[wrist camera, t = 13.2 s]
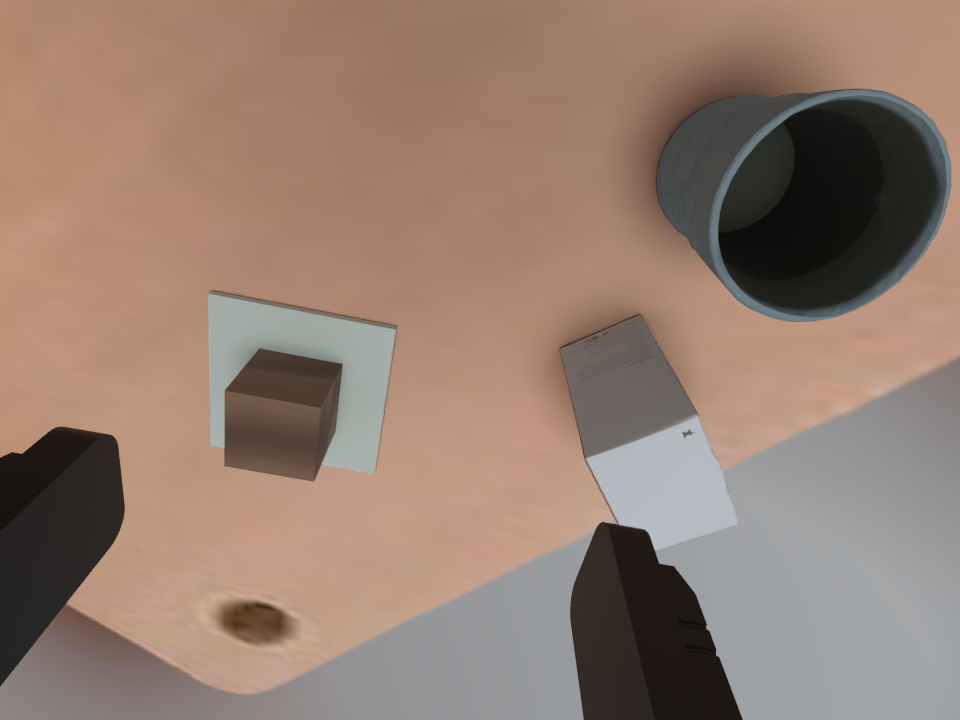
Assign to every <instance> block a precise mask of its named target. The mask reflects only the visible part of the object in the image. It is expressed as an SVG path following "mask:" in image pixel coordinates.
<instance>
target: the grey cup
mask: <svg viewBox="0 0 960 720" xmlns="http://www.w3.org/2000/svg"><path fill="white" fill-rule="evenodd" d="M950 190H951V162H950V158H949V154H948V150H947V146H946V142H945V140H944V138H943V136H942V135H941V133H940V132H939V130H938V128H937V127H936V125H935V123H934V122H933V120H931V119H930V118H929V117H928V116H927V115H926V114H925V113H924V112H923V111H922V110H921V109H919V108H918V107H916V106H915V105H913V104H911V103H909V102H907V101H905V100H903V99H901V98H899V97H897V96H895V95H893V94H891V93H887V92H883V91H877V90H871V89H843V90H833V91H823V92H817V93H809V94H808V93H795V94H790V95H782V96H779V97H774V98H765V97H761V96H756V95H752V96H739V97H729V98H725V99H721V100H718V101H715V102H713V103H711V104H708V105H706V106H705V107H703V108H701V109H700V110H698V111H696V112H695V113H694V114H692V115H691V116H690V117H689V118H687V119H686V120H685V121H684V122H683V123H682V124H681V125H680V126H679V128H677V130H676V131H675V133H674V134H673V135H672V137H671V138H670V140H669V141H668V143H667V145H666V147H665V148H664V150H663V153H662V156H661V159H660V162H659V167H658V173H657V192H658V198H659V202H660V204H661V207H662V210H663V212H664V213H665V215H666V217H667V218H668V220H669V221H670V222H671V224H672V225H673V226H674V227H675V229H676V230H677V231H678V232H680V233H681V234H683V235H684V236H686V237H687V238H688V240H689V242H690V244H691V247H692V248H693V249H694V250H696V252H697V253H698V255H699V256H700V257H701V258H702V260H703V261H704V262H705V263H706V265H707V266H708V267H709V268H710V269H711V271H712V272H713V273H714V274H715V275H716V276H717V277H718V279H719V280H720V281H721V282H722V283H723V285H724V286H725V287H726V288H727V289H728V290H729V291H730V293H731V294H732V295H733V296H734V297H735V298H736V299H737V300H738V301H739V302H741V303H742V304H744V305H745V306H746V307H748V308H750V309H752V310H754V311H756V312H758V313H761V314H763V315H766V316H768V317H772V318H775V319H779V320H783V321H792V322H809V321H817V320H823V319H829V318H834V317H837V316H840V315H843V314H846V313H848V312H851V311H854V310H856V309H858V308H860V307H862V306H864V305H867V304H868V303H870V302H871V301H873V300H875V299H876V298H878V297H879V296H881V295H883V294H884V293H885V292H886V291H888V290H889V289H890V288H892V287H893V286H894V285H895V284H897V283H898V282H899V281H900V280H901V279H902V278H903V277H904V276H905V275H906V274H907V273H908V272H909V271H910V270H911V269H912V268H913V267H914V266H915V265H916V263H917V262H918V261H919V260H920V258H921V257H922V256H923V255H924V253H925V252H926V250H927V249H928V247H929V245H930V244H931V242H932V240H933V239H934V237H935V236H936V234H937V232H938V230H939V227H940V225H941V223H942V220H943V218H944V215H945V211H946V207H947V204H948V200H949V195H950Z"/></svg>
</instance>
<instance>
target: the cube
mask: <svg viewBox="0 0 960 720" xmlns="http://www.w3.org/2000/svg"><path fill="white" fill-rule="evenodd" d="M342 367H343V364H340V363H335V362H329V361H324V360H319V359H313V358H308V357H303V356H298V355H292V354H287V353H282V352H276V351H271V350H266V349H260V348H259V349H258V351H257V352H256V353H255V354H254V355H253V357H252V358H251V359H250V360H249V361H248V363H247V364H246V365H245V366H244V368H243V369H242V370H241V371H240V372H239V374H238V375H237V376H236V377H235V378H234V380H233V381H232V382H231V383H230V385H229V386H228V387H227V388H226V389H225V466H227V467H233V468H239V469H244V470H250V471H256V472H262V473H267V474H273V475H279V476H285V477H291V478H296V479H302V480H308V481H314V480H315V478H316V476H317V473H318V471H319V469H320V466H321V464H322V462H323V459H324V457H325V455H326V452H327V450H328V448H329V445H330V443H331V441H332V439H333V436H334V434H335V432H336V423H337V414H338V404H339V395H340V386H341V376H342Z"/></svg>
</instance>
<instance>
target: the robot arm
mask: <svg viewBox="0 0 960 720" xmlns="http://www.w3.org/2000/svg"><path fill="white" fill-rule="evenodd" d="M124 510H125V505H124V495H123V486H122V477H121V468H120V459H119V449H118V443H117V441H116V439H115V438H114V437H113V436H112V435H108V434H103V433H97V432H91V431H86V430H80V429H74V428H68V427H57V428H54V429H52V430H51V431H49V432H48V433H47V434H46V435H44V436H43V437H42V438H41V439H40V440H38V441H37V442H36V443H35V444H34V445H32V446H31V447H30V448H29V449H28V450H26V451H25V452H24V453H23V454H19V453H13V452H12V453H10V454H7V455H5V456H3V457H1V458H0V686H1V685H2V684H3V682H4V681H5V680H6V679H7V677H8V676H9V675H10V673H11V672H12V671H13V670H14V668H15V667H16V666H17V665H18V663H19V662H20V661H21V660H22V658H23V657H24V656H25V654H26V653H27V652H28V651H29V649H30V648H31V647H32V646H33V644H34V643H35V642H36V640H37V639H38V638H39V637H40V635H41V634H42V633H43V632H44V630H45V629H46V628H47V627H48V625H49V624H50V622H52V620H53V619H54V618H55V616H56V615H57V614H58V613H59V611H60V610H61V609H62V608H63V606H64V605H65V604H66V603H67V601H68V600H69V599H70V598H71V596H72V595H73V594H74V592H75V591H76V590H77V589H78V587H79V586H80V585H81V584H82V582H83V581H84V580H85V579H86V577H87V576H88V575H89V573H90V572H91V571H92V570H93V568H94V567H95V566H96V565H97V563H98V562H99V561H100V560H101V558H102V557H103V556H104V555H105V553H106V552H107V551H108V549H109V548H110V547H111V545H112V544H113V542H114V541H115V539H116V537H117V535H118V533H119V531H120V528H121V525H122V522H123V518H124ZM570 617H571V618H570V619H571V626H572V627H571V628H572V635H573V642H574V650H575V657H576V664H577V672H578V679H579V687H580V694H581V702H582V708H583V717H584V720H743V719H742V717H741V714H740V711H739V709H738V706H737V703H736V701H735V698H734V695H733V693H732V690H731V687H730V685H729V682H728V679H727V677H726V674H725V672H724V669H723V666H722V664H721V661H720V658H719V657H718V656H716V647H715V645H714V642H713V640H712V637H711V634H710V632H709V630H707V629H706V625H707V624H706V621H705V618H704V616H703V613H702V610H701V608H700V605H699V602H698V600H697V597H696V594H695V593H694V592H693V590H692V589H691V588H690V586H689V585H688V584H687V583H686V581H685V580H684V579H683V578H682V576H681V575H680V574H679V572H678V571H677V570H676V569H675V567H674V566H669V565H663V564H659V562H658V559H657V556H656V553H655V550H654V547H653V544H652V541H651V538H650V535H649V533H648V532H647V531H646V530H644V529H640V528H634V527H629V526H623V525H617V524H611V523H605V522H601V523H600V524H599V525H598V526H597V528H596V530H595V533H594V535H593V538H592V540H591V543H590V546H589V548H588V550H587V553H586V555H585V558H584V560H583V563H582V565H581V568H580V570H579V573H578V576H577V578H576V580H575V583H574V587H573V591H572V596H571V607H570Z"/></svg>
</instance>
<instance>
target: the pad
mask: <svg viewBox="0 0 960 720" xmlns="http://www.w3.org/2000/svg"><path fill="white" fill-rule="evenodd" d="M208 323H209V385H210V446H214V447H220V448H225V389H226V388H227V387H228V386H229V385H230V383H231V382H232V381H233V380H234V378H235V377H236V376H237V375H238V374H239V372H240V371H241V370H242V369H243V368H244V366H245V365H246V364H247V363H248V361H249V360H250V359H251V358H252V357H253V355H254V354H255V353H256V352H257V351H258V349H259V348H260V349H266V350H271V351H276V352H282V353H287V354H292V355H298V356H303V357H308V358H313V359H319V360H324V361H329V362H335V363H340V364H343V367H342V376H341V386H340V395H339V404H338V414H337V423H336V432H335V434H334V436H333V439H332V441H331V443H330V445H329V448H328V450H327V452H326V455H325V457H324V459H323V462H322V464H321V465H324V466H329V467H335V468H341V469H347V470H352V471H358V472H364V473H370V474H375V471H376V466H377V459H378V452H379V445H380V439H381V432H382V425H383V419H384V412H385V405H386V398H387V392H388V385H389V378H390V372H391V365H392V358H393V351H394V345H395V338H396V331H397V326H393V325H388V324H383V323H378V322H372V321H367V320H362V319H357V318H352V317H346V316H341V315H336V314H331V313H326V312H321V311H315V310H310V309H305V308H300V307H295V306H289V305H284V304H279V303H274V302H269V301H263V300H258V299H253V298H248V297H243V296H237V295H232V294H227V293H222V292H217V291H211V292H209V293H208Z"/></svg>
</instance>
